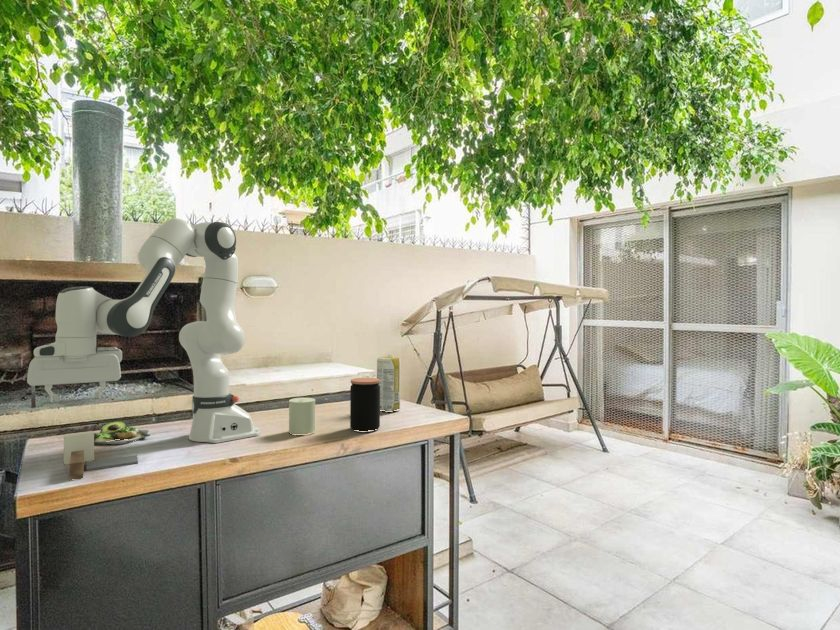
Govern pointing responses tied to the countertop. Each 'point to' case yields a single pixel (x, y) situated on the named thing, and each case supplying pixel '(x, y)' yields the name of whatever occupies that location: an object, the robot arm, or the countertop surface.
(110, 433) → the plate of avocado toast
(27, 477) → the countertop surface
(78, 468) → the brown long block
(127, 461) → the pad
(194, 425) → the robot arm
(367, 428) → the coffee jar
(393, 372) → the juice carton
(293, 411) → the can
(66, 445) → the tile
